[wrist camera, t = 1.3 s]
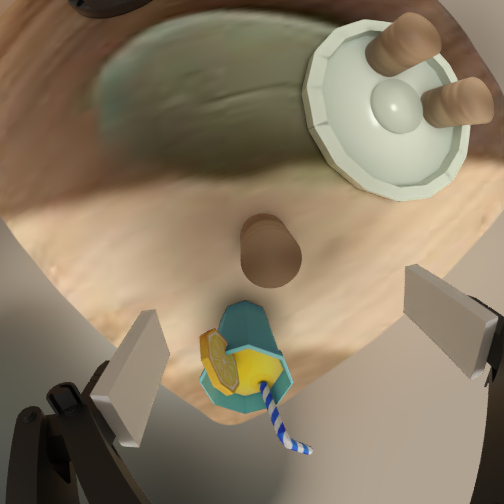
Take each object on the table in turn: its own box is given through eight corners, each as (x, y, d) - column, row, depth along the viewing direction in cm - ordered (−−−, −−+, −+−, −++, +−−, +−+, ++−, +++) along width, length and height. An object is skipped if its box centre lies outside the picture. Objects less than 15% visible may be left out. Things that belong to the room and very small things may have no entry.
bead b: (416, 88, 25) (459, 73, 17) (445, 92, 25) (488, 80, 17) (423, 127, 26) (469, 121, 19) (451, 128, 26) (497, 124, 19)
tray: (286, 27, 24) (290, 16, 21) (437, 40, 24) (448, 34, 21) (319, 208, 29) (325, 211, 27) (464, 190, 29) (476, 192, 27)
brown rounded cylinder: (360, 39, 24) (392, 8, 16) (395, 42, 24) (432, 17, 16) (370, 76, 25) (407, 52, 17) (405, 78, 25) (446, 59, 17)
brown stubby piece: (237, 217, 29) (235, 235, 22) (283, 210, 29) (297, 225, 22) (244, 261, 31) (246, 292, 23) (288, 254, 31) (304, 282, 23)
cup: (313, 342, 34) (350, 437, 19) (264, 378, 35) (276, 476, 20) (232, 261, 31) (225, 340, 16) (181, 306, 32) (145, 400, 17)
